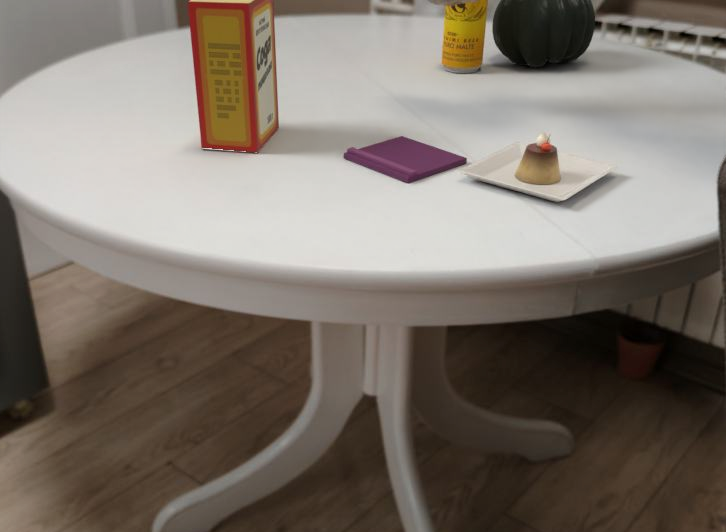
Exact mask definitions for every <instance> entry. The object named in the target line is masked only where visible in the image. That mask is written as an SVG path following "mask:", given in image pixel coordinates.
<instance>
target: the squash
mask: <svg viewBox="0 0 726 532" xmlns="http://www.w3.org/2000/svg"><path fill="white" fill-rule="evenodd" d="M593 5H594V4H593V2H592V0H500V1H499V3H497V5H496V7H495V9H494V10H495V11H494V14H493V16H492V29H491V30H492V31H491V32H492V37H493V41H494V44H495V46H496V48H497V49H498V50H499V52H500V53H501V54H502V55H503V56H504V57H505V58H507V59H508V60H509V61H510V62H511V63H512V64H514V65H517V66H529V67H531V68H540V67H543V66H544V65H545V64H547V61H548V62H549V63H550V64H554V63H558V64H568V63H572V62H573V61H575V60H577V59H579V58H580V57H581V56H583V55H584V54H585V52H587V50H588V48H589V47H590V45H591V43H592V41H593V37H594V32H595V26H596V12H595V9H594V6H593Z"/></svg>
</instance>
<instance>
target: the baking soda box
mask: <svg viewBox="0 0 726 532" xmlns="http://www.w3.org/2000/svg"><path fill="white" fill-rule="evenodd" d="M274 2H275V1H274V0H188V1H187V11H188V20H189V21H188V22H189V30H190V41H191V51H192V62H193V73H194V81H195V82H194V83H195V93H196V103H197V115H198V123H199V124H198V126H199V135H200V144H201V146H200V147H201V149H202V148H212V149H223V150H234V151H246V152H258V151H259V150H260V149H261V148H262V149H263V147H264V146H265V145H266V144H267V143H268V141H269V140H270V139H271V138H272V137H273V135H274V134H275V133H276V132H277V131H278V129H279V128H280V123H279V120H280V119H279V98H278V97H279V95H278V77H277V75H278V74H277V51H276V49H277V48H276V29H275V27H276V26H275V7H274V6H275V5H274ZM276 130H277V131H276ZM275 131H276V132H275ZM271 136H272V137H271ZM270 137H271V138H270ZM269 138H270V139H269ZM268 139H269V140H268ZM267 140H268V141H267ZM266 142H267V143H266ZM265 143H266V144H265ZM264 144H265V145H264ZM263 145H264V146H263ZM262 146H263V147H262ZM262 149H261V150H262ZM261 150H260V151H261ZM260 151H259V152H260ZM259 152H258V153H259Z"/></svg>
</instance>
